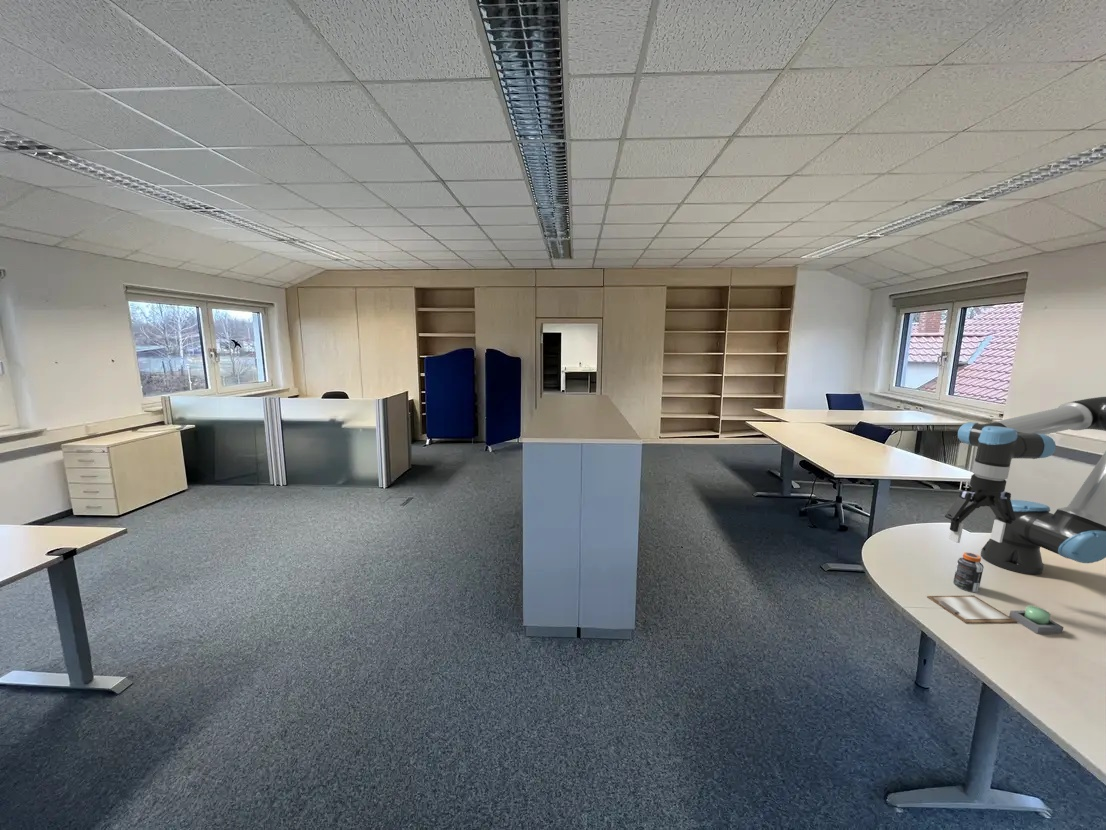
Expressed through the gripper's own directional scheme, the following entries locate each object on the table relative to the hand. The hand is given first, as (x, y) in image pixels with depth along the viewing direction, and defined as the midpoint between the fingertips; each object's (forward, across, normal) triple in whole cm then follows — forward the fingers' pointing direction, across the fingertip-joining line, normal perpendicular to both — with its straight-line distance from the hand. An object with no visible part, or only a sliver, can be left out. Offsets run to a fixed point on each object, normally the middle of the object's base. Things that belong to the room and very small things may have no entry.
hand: (975, 540), depth 132 cm
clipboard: (+16, +10, +11) cm, 22 cm away
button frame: (+16, -2, +18) cm, 24 cm away
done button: (+15, -2, +18) cm, 23 cm away
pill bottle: (+16, 0, 0) cm, 16 cm away
